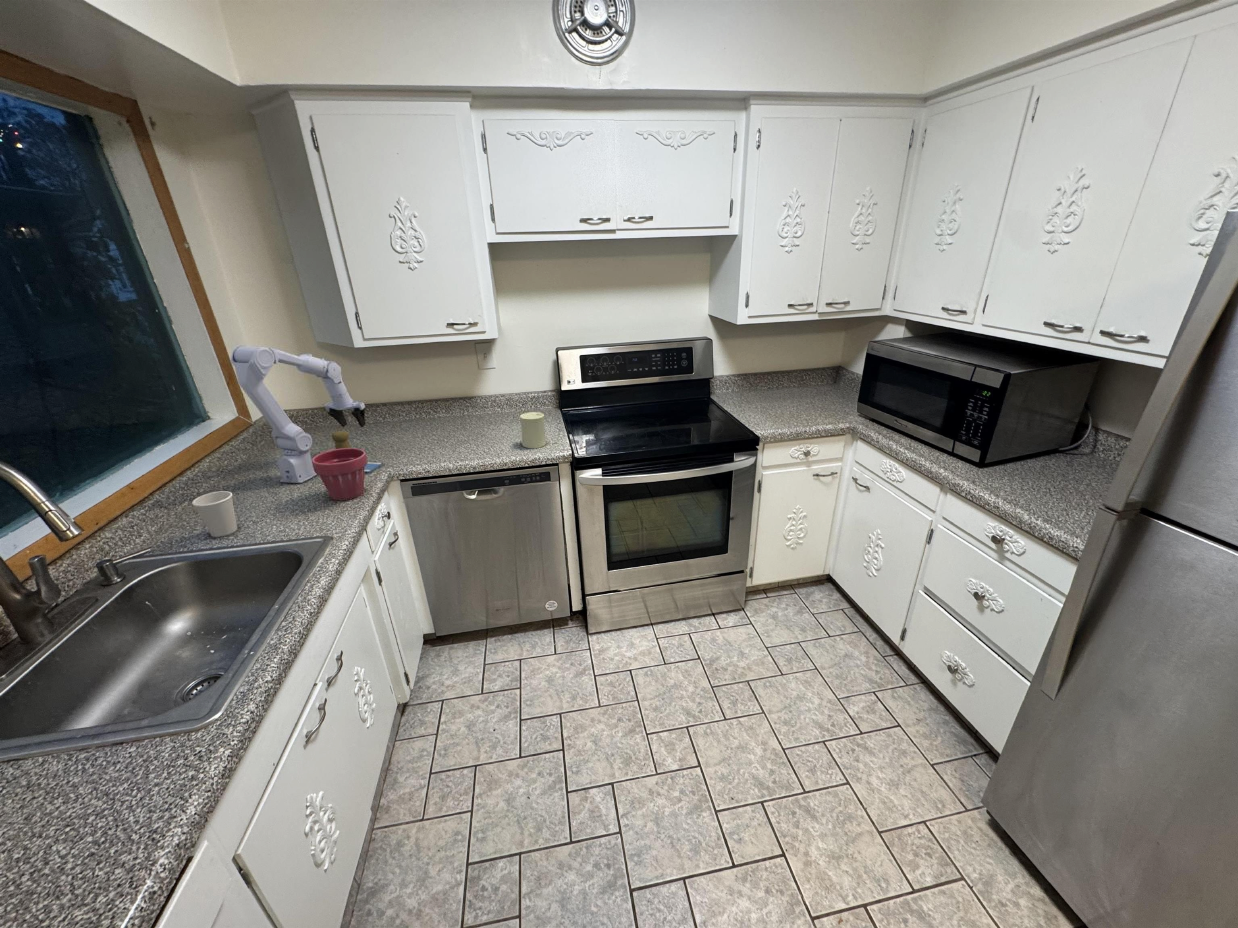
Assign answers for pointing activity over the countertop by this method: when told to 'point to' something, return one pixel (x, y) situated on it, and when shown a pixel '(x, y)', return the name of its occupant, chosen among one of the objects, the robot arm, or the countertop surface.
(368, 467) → the towel
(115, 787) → the countertop surface
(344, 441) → the cork
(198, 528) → the countertop surface
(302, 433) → the robot arm
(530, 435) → the can
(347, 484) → the flower pot
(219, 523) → the dixie cup
